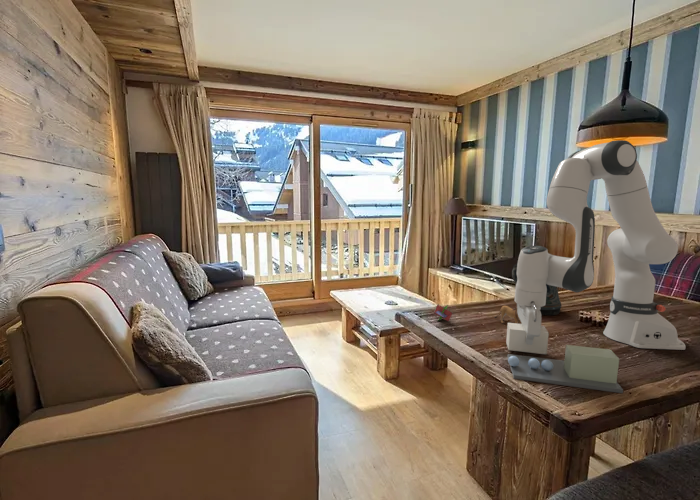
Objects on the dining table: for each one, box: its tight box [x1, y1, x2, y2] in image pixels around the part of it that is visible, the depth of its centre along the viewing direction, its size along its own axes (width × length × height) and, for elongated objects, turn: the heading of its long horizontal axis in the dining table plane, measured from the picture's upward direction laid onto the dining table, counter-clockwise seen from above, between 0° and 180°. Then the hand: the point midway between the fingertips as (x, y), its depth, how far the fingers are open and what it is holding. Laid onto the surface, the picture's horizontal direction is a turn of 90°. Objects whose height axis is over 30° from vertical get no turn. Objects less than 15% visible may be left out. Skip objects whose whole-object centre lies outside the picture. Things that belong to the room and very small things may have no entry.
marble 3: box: [541, 360, 553, 371], centre depth 104 cm, size 3×3×3 cm
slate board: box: [507, 353, 624, 394], centre depth 104 cm, size 26×14×1 cm, turn 73°
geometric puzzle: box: [433, 304, 453, 323], centre depth 146 cm, size 7×7×8 cm
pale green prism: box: [563, 344, 620, 384], centre depth 100 cm, size 11×6×7 cm, turn 73°
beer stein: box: [511, 263, 562, 316], centre depth 158 cm, size 16×19×25 cm
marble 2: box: [528, 358, 540, 369], centre depth 105 cm, size 3×3×3 cm
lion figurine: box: [494, 305, 521, 324], centre depth 142 cm, size 15×5×9 cm, turn 37°
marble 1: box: [507, 356, 519, 367], centre depth 106 cm, size 3×3×3 cm
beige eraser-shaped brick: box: [506, 322, 549, 355], centre depth 117 cm, size 11×6×7 cm, turn 73°
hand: (526, 339), depth 117 cm, fingers closed on beige eraser-shaped brick, 6 cm apart
